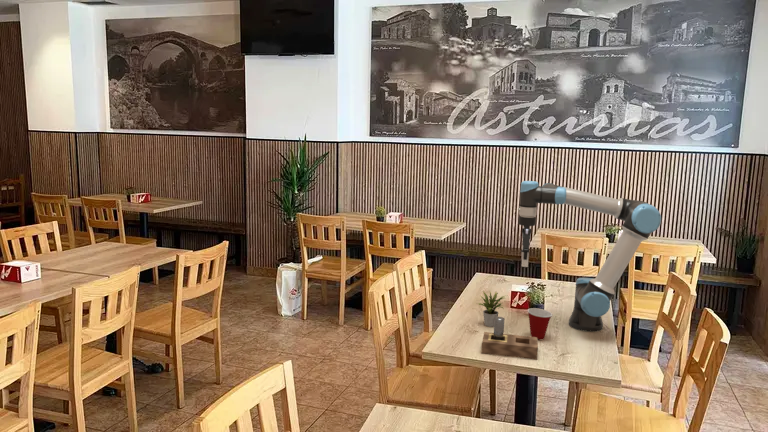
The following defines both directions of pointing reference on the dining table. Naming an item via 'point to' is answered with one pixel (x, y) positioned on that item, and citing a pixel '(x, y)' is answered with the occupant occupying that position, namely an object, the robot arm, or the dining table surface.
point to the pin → (498, 328)
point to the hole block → (510, 346)
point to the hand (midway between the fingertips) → (524, 263)
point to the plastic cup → (538, 322)
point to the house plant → (490, 309)
